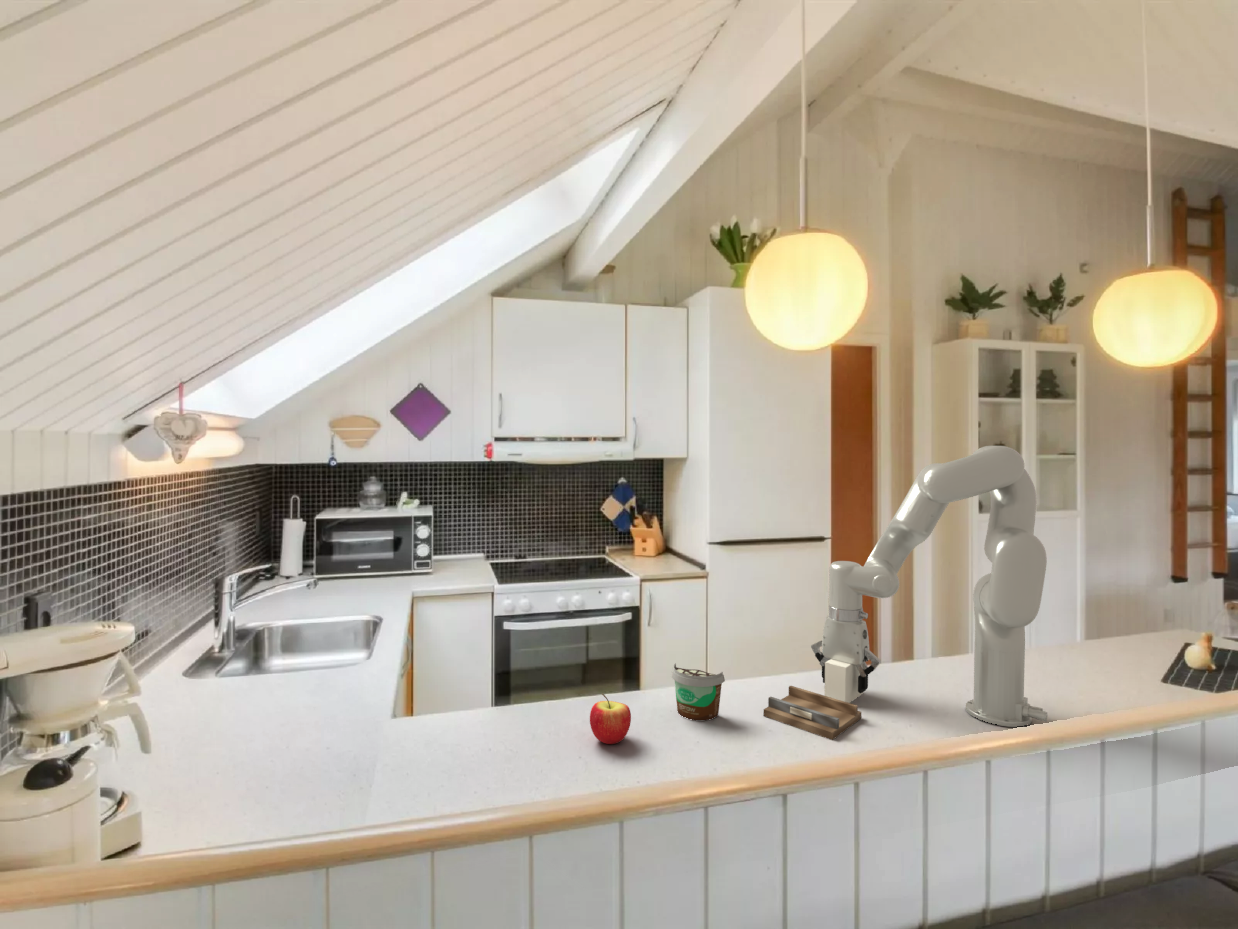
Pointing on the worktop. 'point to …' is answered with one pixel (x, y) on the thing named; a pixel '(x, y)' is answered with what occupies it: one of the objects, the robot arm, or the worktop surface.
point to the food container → (697, 693)
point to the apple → (610, 721)
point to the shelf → (813, 712)
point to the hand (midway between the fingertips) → (844, 686)
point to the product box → (841, 680)
